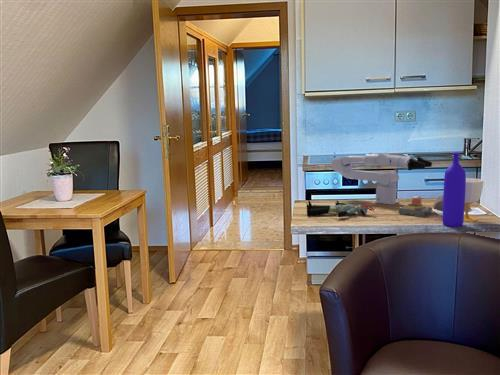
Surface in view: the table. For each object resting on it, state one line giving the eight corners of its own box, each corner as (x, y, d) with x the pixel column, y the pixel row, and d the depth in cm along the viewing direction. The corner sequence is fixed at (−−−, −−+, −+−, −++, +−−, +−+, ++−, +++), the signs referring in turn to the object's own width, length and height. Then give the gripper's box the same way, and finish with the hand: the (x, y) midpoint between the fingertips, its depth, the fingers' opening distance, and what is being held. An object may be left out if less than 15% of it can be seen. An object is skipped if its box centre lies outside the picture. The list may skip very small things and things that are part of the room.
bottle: (456, 228, 206) (459, 154, 201) (437, 224, 212) (440, 152, 207) (467, 225, 211) (471, 152, 205) (449, 221, 217) (452, 151, 212)
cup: (455, 222, 216) (457, 182, 213) (448, 215, 228) (450, 177, 225) (484, 222, 215) (487, 182, 212) (476, 216, 226) (478, 177, 223)
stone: (470, 221, 240) (468, 203, 246) (474, 209, 233) (472, 191, 238) (432, 219, 245) (431, 202, 250) (434, 208, 237) (433, 190, 242)
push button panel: (398, 213, 234) (398, 205, 233) (406, 209, 241) (406, 202, 240) (424, 216, 226) (424, 208, 226) (431, 213, 233) (432, 205, 233)
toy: (310, 195, 250) (373, 192, 244) (310, 210, 252) (373, 208, 245) (304, 206, 226) (374, 203, 219) (305, 223, 227) (375, 221, 221)
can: (409, 208, 244) (410, 196, 243) (413, 206, 248) (414, 194, 246) (418, 209, 241) (419, 197, 240) (422, 207, 245) (423, 195, 244)
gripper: (395, 154, 244) (422, 158, 235) (408, 152, 255) (435, 155, 246) (393, 169, 245) (421, 173, 237) (406, 166, 256) (433, 170, 247)
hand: (428, 165), depth 241 cm, fingers open, 7 cm apart
